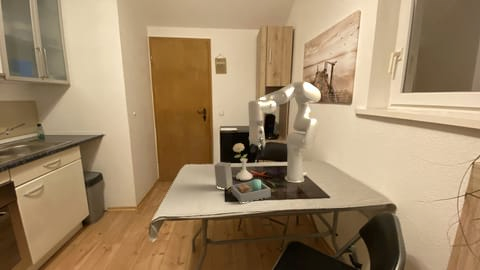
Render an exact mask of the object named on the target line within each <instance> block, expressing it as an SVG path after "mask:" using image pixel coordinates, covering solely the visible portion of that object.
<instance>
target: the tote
mask: <svg viewBox="0 0 480 270" xmlns="http://www.w3.org/2000/svg"><path fill="white" fill-rule="evenodd" d="M245 184H246V185H248V186H249V187H250V192H249V193H244V194H241V193H240V192H239V191H238V186H240V185H245ZM271 190H272V189H271V188H270V187H269V186H267V185H266V184H265V183H263V182H262V181H261V190H258V191H254V192H252V180H251V181H248V182H247V181H245V182H242V183H238V184H233V185H231V189H230V193H231V192H232V193H233V195H234V196H235V197H236V198H237V199H238V200H239V201H240V202H241V203H242V202H247V201H253V200H257V201H260V200H259V199H261V200H264V199H263V198H265V199H270V198H271V197H272V195H271V194H272V191H271ZM233 195H232V196H233ZM234 196H233V197H234ZM235 197H234V198H235ZM269 197H270V198H269ZM253 202H254V201H253Z"/></svg>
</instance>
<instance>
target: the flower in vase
mask: <svg viewBox="0 0 480 270" xmlns="http://www.w3.org/2000/svg"><path fill="white" fill-rule="evenodd" d="M244 145H245V144H243V143H241V142H239V143H236V144H234V145H233V147H232V150H233V152H236V153H239V154H236V155H234V158H237V159H238V158H240V159H239V160H240V162H241V165H242V166H241V167H242V168H241V170H240V171H239V172H238V173H237V174H236V176H235V178H236V180H239V179H240V180H239V181H249V180H251V179H253V174H252V173H251V172H249V171H248V170H247V165H246V164H247V162H248V158H246V157H247V155H248V153H246V154H243V156H241V151H244V150H245V146H244Z"/></svg>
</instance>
